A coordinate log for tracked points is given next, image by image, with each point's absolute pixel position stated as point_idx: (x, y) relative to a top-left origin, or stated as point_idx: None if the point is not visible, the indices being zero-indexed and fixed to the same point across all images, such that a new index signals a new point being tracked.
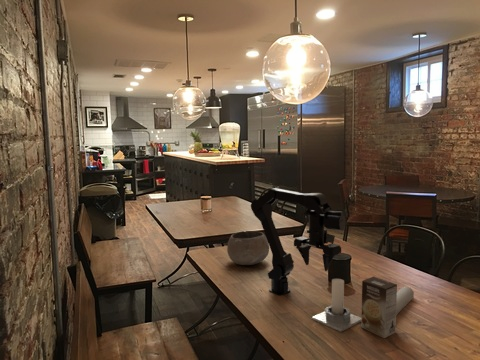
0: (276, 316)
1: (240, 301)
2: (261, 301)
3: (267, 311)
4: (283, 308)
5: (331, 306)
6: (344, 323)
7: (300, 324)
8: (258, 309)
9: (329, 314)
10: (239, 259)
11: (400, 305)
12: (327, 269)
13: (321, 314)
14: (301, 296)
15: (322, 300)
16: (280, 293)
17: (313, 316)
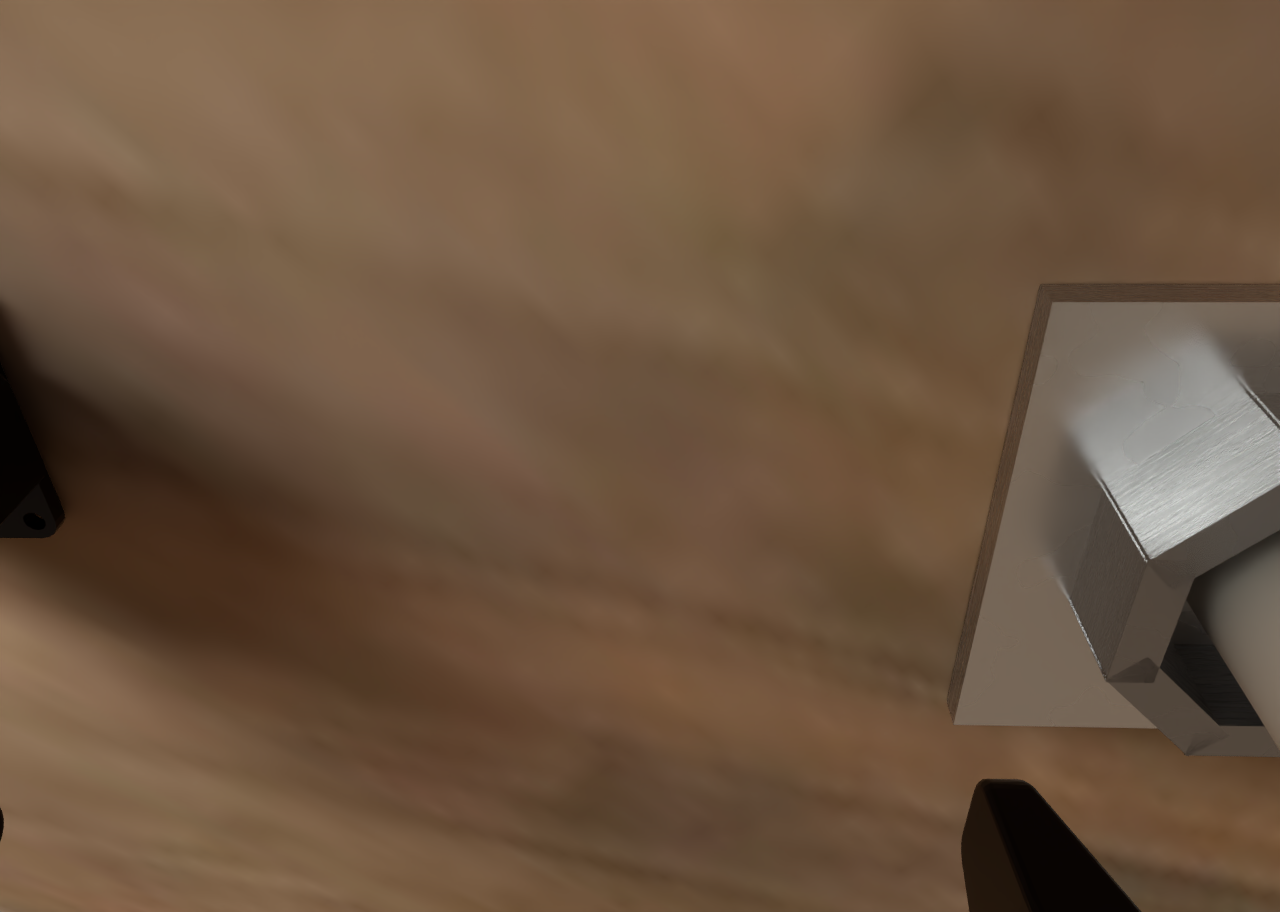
0: (597, 863)
1: (43, 876)
2: (149, 758)
3: (436, 852)
4: (480, 722)
5: (1260, 718)
6: None
7: (913, 834)
8: (337, 875)
9: (1249, 750)
10: None
11: None
12: (1054, 847)
13: (1017, 617)
14: (266, 289)
15: (647, 135)
16: (30, 503)
17: (960, 710)
